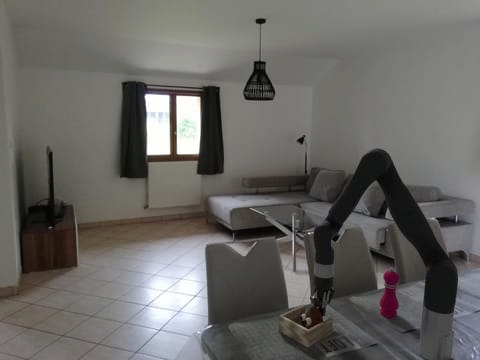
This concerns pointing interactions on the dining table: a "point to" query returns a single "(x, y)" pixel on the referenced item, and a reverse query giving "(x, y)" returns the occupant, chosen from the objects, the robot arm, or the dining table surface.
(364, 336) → the dining table surface
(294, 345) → the dining table surface
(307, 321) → the poop emoji
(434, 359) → the robot arm
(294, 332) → the birch holder
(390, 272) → the pepper mill
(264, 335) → the dining table surface
